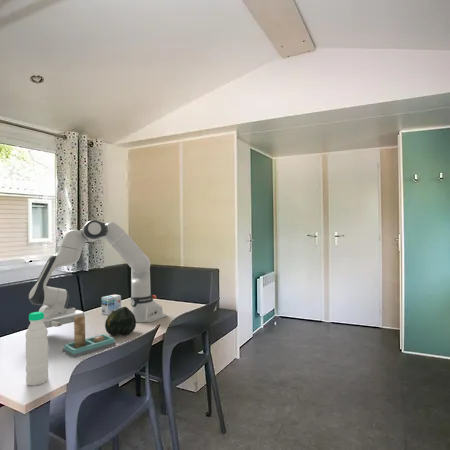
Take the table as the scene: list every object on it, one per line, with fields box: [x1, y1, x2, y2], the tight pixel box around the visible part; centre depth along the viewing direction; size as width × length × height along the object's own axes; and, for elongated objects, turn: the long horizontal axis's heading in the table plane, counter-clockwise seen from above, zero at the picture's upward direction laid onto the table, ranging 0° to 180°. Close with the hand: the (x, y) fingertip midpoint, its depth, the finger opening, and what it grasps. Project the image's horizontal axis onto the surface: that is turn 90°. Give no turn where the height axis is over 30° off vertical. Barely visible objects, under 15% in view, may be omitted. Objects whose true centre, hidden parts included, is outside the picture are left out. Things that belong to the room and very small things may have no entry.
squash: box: [104, 306, 137, 336], centre depth 173 cm, size 14×15×15 cm
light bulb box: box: [101, 293, 122, 316], centre depth 215 cm, size 11×7×11 cm, turn 148°
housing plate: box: [62, 333, 117, 358], centre depth 154 cm, size 20×11×4 cm, turn 137°
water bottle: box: [25, 311, 49, 387], centre depth 121 cm, size 7×7×25 cm
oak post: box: [73, 315, 86, 349], centre depth 150 cm, size 4×4×14 cm
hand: (68, 322), depth 158 cm, fingers open, 8 cm apart
